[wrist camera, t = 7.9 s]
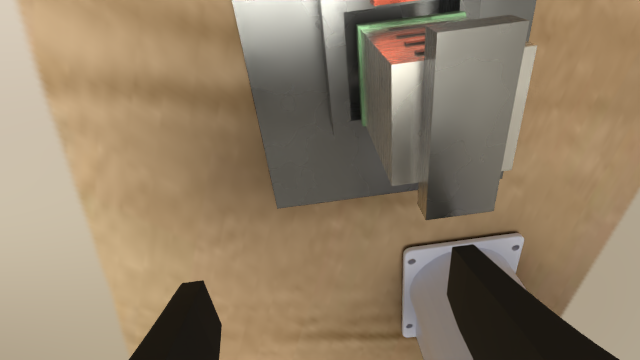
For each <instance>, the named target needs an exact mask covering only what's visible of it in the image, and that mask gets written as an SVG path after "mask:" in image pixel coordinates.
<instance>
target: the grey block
mask: <svg viewBox="0 0 640 360" xmlns="http://www.w3.org/2000/svg"><path fill="white" fill-rule="evenodd" d="M529 21H530V20H526V19H523V18H520V17H517V16H514V15H503V16H496V17H488V18H481V19H470V18H468V17H466V12H465V11H462V10H460V11H453V12H445V13H438V14H430V15H423V16H415V17H408V18H400V19H392V20H385V21H377V22H370V23H362V24H356V37H357V56H358V75H359V94H360V113H361V124H362V126H366V127H367V130H368V132H369V134H370V137H371V139H372V141H373V143H374V146H375V148H376V150H377V153H378V155H379V157H380V160H381V162H382V164H383V167H384V169H385V171H386V174H387V176H388V178H389V180H390V183H391V185H392V186H396V185H403V184H411V183H418V182H419V183H418V206H419V208H420V210H421V212H422V214H423V216H424V218H425V220H430V219H438V218H445V217H453V216H460V215H468V214H475V213H483V212H490V211H494V206H495V201H496V196H497V191H498V185H499V180H500V175H501V171H508V170H512V165H513V160H514V155H515V151H516V146H517V141H518V136H519V131H520V126H521V122H522V117H523V112H524V107H525V102H526V97H527V93H528V88H529V83H530V78H531V73H532V68H533V64H534V59H535V54H536V49H537V45H535V44H532V43H530V42H527V41H526V37H527V32H528V27H529Z"/></svg>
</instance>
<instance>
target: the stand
mask: <svg viewBox="0 0 640 360" xmlns="http://www.w3.org/2000/svg"><path fill="white" fill-rule="evenodd" d="M232 3H233V8H234V12H235V17H236V21H237V26H238V30H239V35H240V40H241V44H242V49H243V53H244V58H245V62H246V67H247V72H248V76H249V81H250V85H251V90H252V94H253V99H254V104H255V108H256V113H257V117H258V122H259V126H260V131H261V136H262V140H263V145H264V149H265V154H266V158H267V163H268V168H269V172H270V177H271V181H272V186H273V190H274V195H275V200H276V204H277V209H278V208H286V207H293V206H301V205H308V204H316V203H323V202H330V201H338V200H345V199H353V198H360V197H368V196H375V195H383V194H390V193H398V192H405V191H413V190H418V183H419V182H418V183H411V184H403V185H396V186H392V185H391V183H390V180H389V178H388V176H387V174H386V171H385V169H384V167H383V164H382V162H381V160H380V157H379V155H378V153H377V150H376V148H375V146H374V143H373V141H372V139H371V137H370V134H369V132H368V130H367V127H366V126H362V124H361V113H360V94H359V75H358V56H357V37H356V24H362V23H370V22H377V21H385V20H392V19H400V18H408V17H415V16H423V15H430V14H438V13H445V12H453V11H460V10H462V11H465V12H466V17H468V18H470V19H481V18H488V17H496V16H503V15H514V16H517V17H520V18H523V19H526V20H530V21H529V27H528V32H527V37H526V41H527V42H528V41H529V36H530V31H531V26H532V20H533V15H534V10H535V5H536V0H232ZM502 176H503V171H501V175H500V179H502Z"/></svg>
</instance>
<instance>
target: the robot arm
mask: <svg viewBox="0 0 640 360" xmlns="http://www.w3.org/2000/svg"><path fill="white" fill-rule="evenodd" d="M523 243H524V238H523V237H522V235H521V234H519V233H513V234H505V235H498V236H491V237H483V238H476V239H468V240H461V241H453V242H446V243H438V244H431V245H424V246H416V247H410V248H407V249H406V250H405V251H404V253H403V290H402V334H403V336H404V337H407V338H408V337H416V338H417V341H418V344H419V347H420V350H421V353H422V356H423V359H424V360H619V359H618V358H616V357H615V356H613V355H612V354H610V353H609V352H607V351H606V350H604V349H603V348H601V347H600V346H598V345H597V344H595V343H594V342H593V341H591V340H590V339H588V338H587V337H586V336H584V335H583V334H581V333H580V332H579V331H577V330H576V329H575V328H573V327H572V326H571V325H569V324H568V323H567V322H566V321H564V320H563V319H562V318H560V317H559V316H558V315H556V314H555V313H554V312H553V311H551V310H550V309H549V308H548V307H546V306H545V305H544V304H543V303H541V302H540V301H539V300H538V299H536V298H535V297H534V296H533V295H532V294H530V293H529V292H528V291H527V290H526V288H525V287H524V285H523V284H522V282H521V281H520V280H519V278H518V277H517V275H516V270H517V266H518V262H519V259H520V255H521V251H522V247H523ZM514 245H515V246H514ZM410 259H412V260H410ZM221 326H222V325H221V322H220V320H219V317H218V315H217V312H216V310H215V308H214V305H213V303H212V300H211V298H210V296H209V293H208V291H207V288H206V286H205V284H204V281H195V282H188V283H182V284H181V285H180V287H179V288H178V290H177V291H176V292H175V294H174V295H173V297H172V298H171V300H170V301H169V303H168V304H167V306H166V307H165V309H164V310H163V312H162V313H161V315H160V316H159V318H158V319H157V321H156V322H155V324H154V325H153V326H152V328H151V329H150V331H149V332H148V334H147V335H146V336H145V338H144V339H143V341H142V342H141V343H140V345H139V346H138V348H137V349H136V350H135V352H134V353H133V355H132V356H131V357H130V359H129V360H219V353H220V341H221Z"/></svg>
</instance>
